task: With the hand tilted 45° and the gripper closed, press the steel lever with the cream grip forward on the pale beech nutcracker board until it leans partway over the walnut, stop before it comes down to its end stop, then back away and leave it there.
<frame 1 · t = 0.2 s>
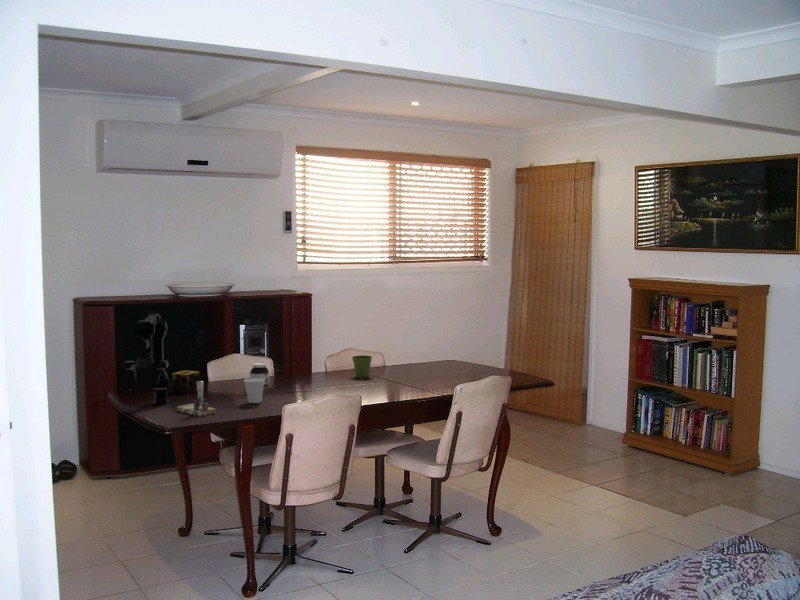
hand: (146, 383, 358), 15 cm above the table, tool pointing down, fingers open, 9 cm apart
lever: (200, 393, 364), point 9 cm above the table, hinge at 0.0°
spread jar: (258, 385, 433), on the table
cup: (254, 402, 387), on the table
plant pot: (362, 376, 456), on the table
nutcracker board: (200, 413, 365), on the table
candle: (186, 391, 416), on the table
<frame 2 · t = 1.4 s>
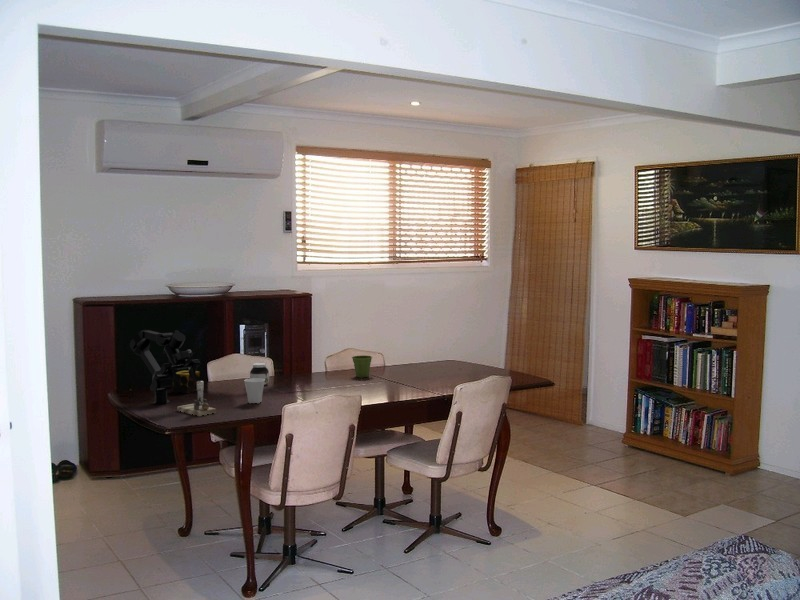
hand: (187, 381, 370), 13 cm above the table, tool tilted 45°, fingers open, 8 cm apart
nothing on the table moved.
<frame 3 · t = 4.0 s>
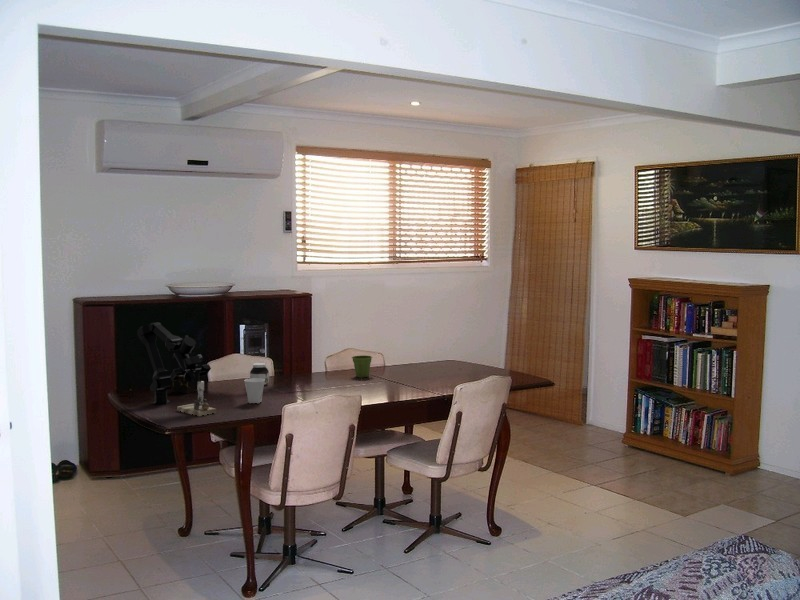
hand: (198, 386, 365), 12 cm above the table, tool tilted 45°, fingers closed, pressing on lever
lever: (200, 393, 364), point 9 cm above the table, hinge at 2.7°, touching gripper
everything else where it was.
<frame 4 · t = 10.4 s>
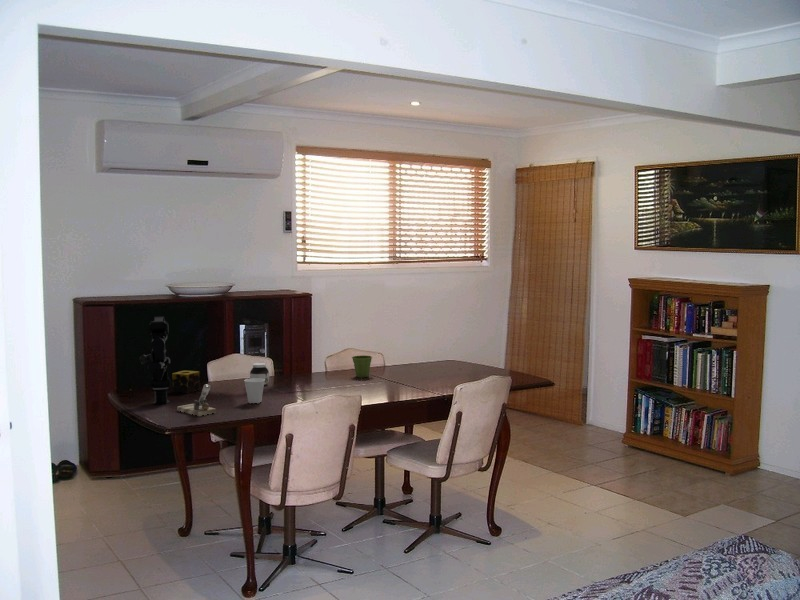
hand: (159, 381, 372), 13 cm above the table, tool pointing down, fingers closed
lever: (203, 395, 362), point 8 cm above the table, hinge at 33.1°
everything else where it was.
at the end: lever at +33° (first picture: +0°); the gripper is holding nothing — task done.
